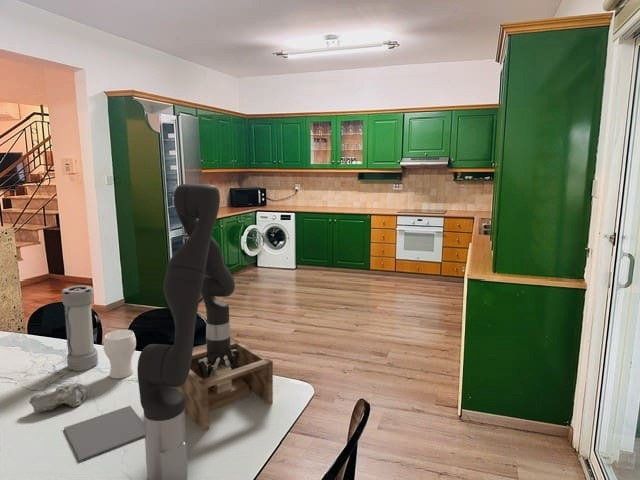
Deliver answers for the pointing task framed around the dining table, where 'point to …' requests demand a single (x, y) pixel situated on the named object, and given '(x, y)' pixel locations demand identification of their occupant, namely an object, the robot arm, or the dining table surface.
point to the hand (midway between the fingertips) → (219, 384)
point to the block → (224, 385)
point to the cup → (120, 352)
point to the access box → (246, 376)
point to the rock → (60, 397)
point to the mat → (105, 432)
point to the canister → (79, 327)
